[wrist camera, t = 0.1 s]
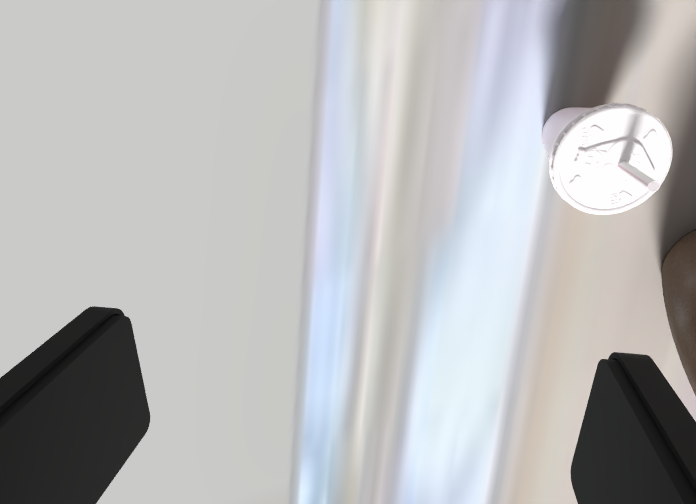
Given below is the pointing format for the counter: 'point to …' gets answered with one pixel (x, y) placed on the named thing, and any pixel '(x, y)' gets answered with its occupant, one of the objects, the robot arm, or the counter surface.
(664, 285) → the plant pot
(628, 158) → the smoothie
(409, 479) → the counter surface
